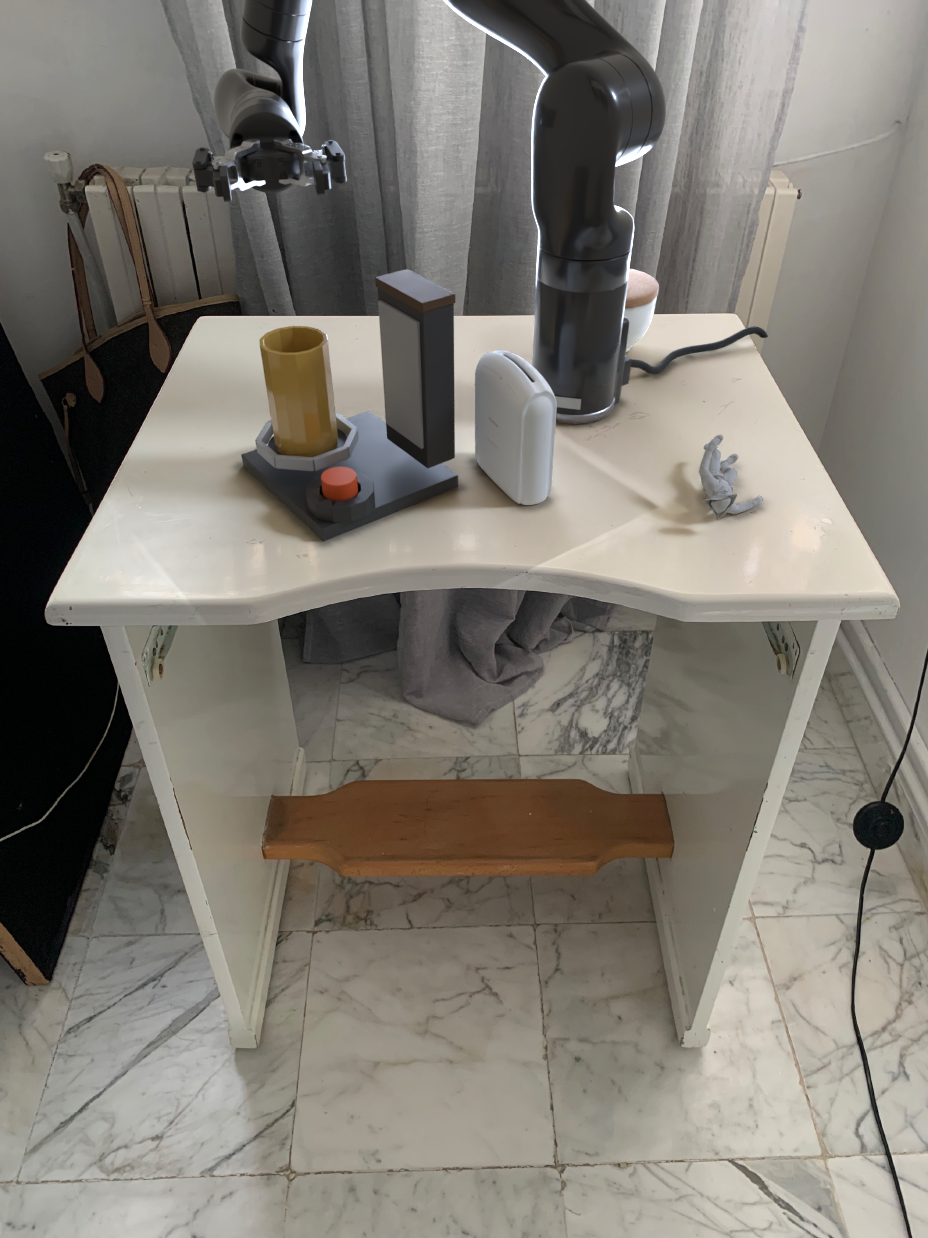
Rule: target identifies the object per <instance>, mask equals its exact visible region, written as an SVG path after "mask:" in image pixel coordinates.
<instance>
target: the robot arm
mask: <svg viewBox="0 0 928 1238" xmlns="http://www.w3.org/2000/svg"><path fill="white" fill-rule="evenodd" d="M443 2H444V3H445V5H448V7H449V8H450V9H452V10H453V11H454V12H455V13H456V14H457V15H458V16H460V17H462V18H463V19H464V20H465V21H467V22H468V23H470V24H472V25H473V26H474V27H476V28H478V29H479V30H482V31H483V32H484V33H485V34H488V35H489V36H490V37H492V38H494V39H496V40H498V41H500V42H501V43H503V44H505V45H506V46H508V47H509V48H512V49H513V50H515V51H516V52H517V53H520V54H521V55H523V56H524V57H525V58H526V59H527V60H529V61H530V62H532V63H533V65H535V66H536V67H537V68H538V69H539V70H540V71H541V72H542V73H543V75H544V76H545V77H544V78H543V80H542V82H541V84H540V87H539V88H538V92H537V94H536V98H535V102H534V106H533V112H532V120H531V121H532V122H531V207H532V212H533V216H534V219H535V223H536V227H537V233H538V234H537V237H538V238H537V252H536V253H537V254H536V270H535V273H536V274H535V293H534V313H533V314H534V315H533V331H532V347H531V348H532V349H531V351H532V352H531V365H532V366H533V367H534V368H535V369H536V370H537V371H538V372H539V373H540V374H541V375H542V376H543V378H544V379H545V380H546V382H547V383H548V384H549V386H550V388H551V389H552V391H553V393H554V396H555V398H556V402H557V411H556V423H562V424H573V425H574V424H575V425H576V424H588V423H593V422H597V421H599V420H602V419H604V418H606V417H608V416H609V415H611V414H612V412H613V411H614V407H615V405H617V404H619V403H620V402H621V393H622V387H623V386H627V385H628V384H630V377H631V369H632V368H635V369H640V370H642V371H644V373H646V374H649V375H657V374H660V373H661V372H663V371H664V370H666V368H667V367H668V366H669V365H670V364H671V363H672V362H673V361H674V360H675V359H677V358H680V357H683V356H687V355H692V354H698V353H705V352H712V351H716V350H717V351H718V350H721V349H723V348H726V347H728V346H730V345H733V344H734V343H735V342H738V341H739V340H741V339H743V338H746V337H747V336H750V335H756V336H758V337H759V338H761V339H767V338H768V337H769V335H768V333H767V332H766V330H764V328H762V327H760V326H755V325H754V326H749V327H745V328H743V329H741V330H738V331H737V332H735V333H733V334H731V335H730V336H728V337H725V338H724V339H721V340H718V341H714V342H709V343H704V344H696V345H688V346H685V347H681V348H678V349H676V350H672V352H670V353H669V354H667V355H666V356H665V357H664V358H663V359H662V360H661V362H660V363H658V364H657V365H654V366H653V365H651V364H649V363H648V362H646V361H644V360H641V359H636V358H635V359H632V358H630V357H628V356H626V353H627V352H626V347H627V339H628V331H629V320H628V318H626V317H624V309H625V301H626V292H627V284H628V275H629V269H630V265H631V257H632V249H633V241H634V235H635V233H634V232H635V221H634V217H633V216H632V214H630V212H628V211H627V210H626V209H624V208H622V207H621V206H617V205H615V184H616V182H615V181H616V167H618V166H621V165H624V164H627V163H629V162H632V161H634V160H637V159H638V158H640V157H642V156H643V155H645V154H647V153H648V152H649V151H651V150H652V148H654V146H655V145H657V143H658V141H659V140H660V138H661V135H662V134H663V131H664V127H665V123H666V117H667V106H666V97H665V96H666V95H665V92H664V88H663V86H662V83H661V81H660V79H659V76H658V75H657V73H656V71H655V69H654V68H653V67H652V65H651V63H650V62H649V61H648V60H647V59H646V58H645V56H644V55H643V54H642V53H641V52H640V51H639V50H638V49H637V48H636V47H635V46H634V45H633V44H632V43H631V42H629V40H627V39H626V38H625V37H624V36H623V35H622V34H621V33H620V32H619V31H618V30H617V29H616V28H615V27H613V25H612V24H610V22H609V21H608V20H607V19H605V18H604V17H603V15H601V14H600V13H599V12H598V11H597V10H596V9H595V8H594V7H593V6H592V5H591V4H590V3H589V2H588V1H587V0H443ZM242 3H243V4H242V10H241V19H240V28H239V39H240V43H241V45H242V47H243V48H244V49H245V51H246V52H247V53H249V55H251V56H252V57H254V58H255V59H256V60H258V61H260V62H262V63H263V64H265V65H267V66H268V67H270V68H271V69H273V70H274V71H275V72H276V73H277V75H278V76H279V78H280V79H276V78H273V77H270V76H267V75H263V74H260V73H257V72H253V71H250V70H246V69H243V68H230V69H228V70H226V71H224V72H223V73H222V74H221V76H220V77H219V79H218V80H217V82H216V85H215V88H214V94H213V110H214V115H215V119H216V122H217V124H218V127H219V128H220V131H221V133H223V134H224V136H225V137H226V138H228V139H229V141H228V142H229V145H228V146H229V148H228V149H227V150H225V152H224V155H216V156H214V151H211V150H210V149H209V148H207V147H199V148H196V150H195V153H194V156H193V158H192V163H191V164H192V169H193V175H194V180H195V186H196V190H197V192H200V193H207V192H209V191H211V188H213V189H214V195H215V196H216V198H222V199H223V203H224V202H225V203H227V202H232V200H233V199H232V191H240V192H244V191H246V190H248V189H251V188H252V189H253V190H256V191H258V192H261V193H264V194H277V193H281V192H284V191H286V190H288V189H290V188H291V187H293V186H294V185H295V186H299V187H303V188H306V187H310V186H312V185H314V188H315V193H316V194H317V195H316V196H318V197H319V196H325V195H326V191H329V190H331V189H332V182H331V180H333V182H334V183H336V184H339V185H341V184H345V183H347V182H348V178H347V171H346V155H345V152H344V150H343V149H342V148H341V147H340V145H339V143H338V142H337V140H333V139H328V140H327V141H324V143H323V144H321V149H318V150H317V149H315V150H312V148H311V147H310V146H309V145H307V144H305V142H304V139H303V135H304V132H305V128H306V122H307V121H306V120H307V119H306V104H305V94H304V81H303V62H304V61H303V59H304V48H305V42H306V37H307V36H306V35H307V30H308V26H309V19H310V14H311V9H312V4H313V0H243V2H242Z"/></svg>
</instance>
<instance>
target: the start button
mask: <svg viewBox="0 0 928 1238" xmlns="http://www.w3.org/2000/svg"><path fill="white" fill-rule="evenodd" d="M321 483H322V492H323V496H324V497H325V498H326V499H330V500H334V501H340V500H347V499H350V498H352V497H355V496H356V495H357V493H358V485H357V475H356V472H355V471H354V470H352V469H350V468H347V467H334V468H330V469H328V470H326V471H324V472H323V473H322V475H321Z"/></svg>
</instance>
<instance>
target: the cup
mask: <svg viewBox="0 0 928 1238" xmlns="http://www.w3.org/2000/svg"><path fill="white" fill-rule="evenodd" d="M259 350H260V356H261V357H260V358H261V363H262V369H263V376H264V382H265V388H266V395H267V400H268V401H267V402H268V407H269V413H270V420H271V421H272V427H273V436H274V440H275V445H276V449H277V450H278V452H279V453H281V454H282V455H288V456H301V457H315V456H318V455H321V454H323V453H326V452H329V451H332V450H334V449H335V448H336V446H337V444H338V433H337V424H336V414H335V413H336V406H335V404H336V403H335V397H334V396H335V395H334V387H333V386H334V385H333V378H332V377H333V376H332V368H331V358H330V357H331V356H330V347H329V340H328V334H327V333H326V332H324V331H323V330H321V329H320V328H316V327H311V326H307V325H289V326H284V327H278V328H275V329H272V330H271V331H267V332H266V333H264V334H263V335H262V336H261V337H260V338H259Z"/></svg>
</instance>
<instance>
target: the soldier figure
mask: <svg viewBox="0 0 928 1238" xmlns="http://www.w3.org/2000/svg"><path fill="white" fill-rule="evenodd" d="M723 440H724V436H723V435H722V434H718V435H716V436H714V437H713V438H712V439H711V440H710V441H709V442H708V443H705V444H704V446H703V450H704V453H703V455H702V458H701V460H700V465H699V468H698V475H699V476H700V482H701V487H703V490H704V491H705V495H706V496H708V498H705V499H702V503H704V504H705V505H706V506H707V507H708V508H710V510H711V511H712V512H713V514H714V516H715V520H716V521H718V520H719V519H721V518H723V517H724V516H725V515H726V513H727V514H732V515H737V514H740V513H744V512H746V511H748V510H751V509H753V508H754V507H757V506H759V505H760V504H762V503H763V502H764V497H763V496H762V495H760V494H758V496H756V497H755V498H753V499H752V500H750V501H749V500H747V501H745V502H742V503H736V502H735V501H736V499H737V498H738V494H737V493H734V487H733V484H734V483H735V481H736V480H737V479H738V477H739V475H738V470H737V469H735V467H732V466H731V465H733V464H735V463H737V461H738V460H739V455H738V454H737V453H733V454H730V455H728V457H727V458H726V459H723V460H721V457H722V453H721V450H720V449H718V448H719V445H720V444H721V443H722V442H723ZM721 472H722V473H721Z"/></svg>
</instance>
